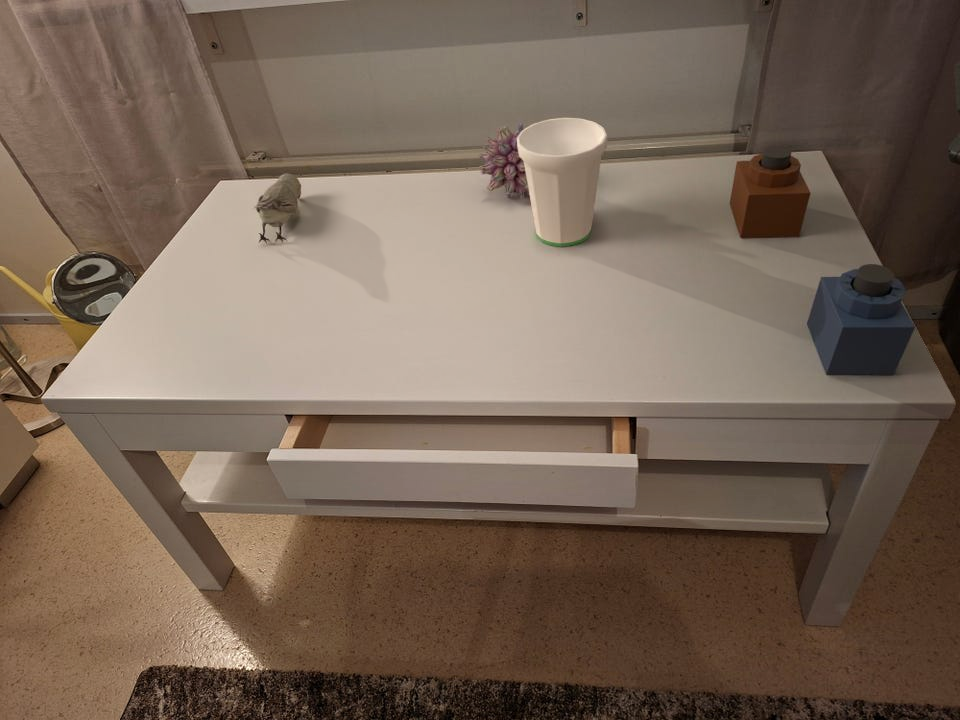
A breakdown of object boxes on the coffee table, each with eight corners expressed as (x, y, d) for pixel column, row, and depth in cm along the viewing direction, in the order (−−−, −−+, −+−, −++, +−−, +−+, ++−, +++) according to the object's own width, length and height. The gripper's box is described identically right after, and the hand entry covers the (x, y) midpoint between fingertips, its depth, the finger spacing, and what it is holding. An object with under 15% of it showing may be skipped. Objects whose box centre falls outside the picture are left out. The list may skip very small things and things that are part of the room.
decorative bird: (313, 197, 117) (301, 158, 112) (288, 247, 106) (274, 206, 101) (284, 199, 118) (271, 160, 113) (256, 248, 106) (240, 208, 101)
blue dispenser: (806, 323, 80) (825, 262, 74) (868, 323, 79) (892, 261, 73) (825, 374, 73) (848, 312, 67) (893, 375, 72) (922, 311, 66)
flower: (537, 181, 116) (565, 197, 106) (473, 195, 114) (496, 213, 104) (531, 113, 110) (560, 123, 100) (464, 127, 108) (487, 139, 98)
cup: (546, 204, 107) (543, 112, 97) (617, 220, 101) (622, 124, 91) (507, 243, 100) (499, 148, 89) (582, 262, 94) (582, 163, 84)
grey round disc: (790, 171, 90) (794, 157, 89) (763, 172, 91) (766, 158, 89) (785, 159, 93) (788, 145, 91) (758, 160, 93) (761, 146, 92)
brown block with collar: (799, 237, 93) (814, 179, 87) (740, 238, 94) (751, 181, 88) (784, 201, 100) (797, 145, 94) (729, 203, 102) (738, 148, 96)
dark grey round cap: (848, 279, 72) (853, 264, 70) (882, 279, 71) (888, 263, 70) (857, 298, 69) (863, 282, 68) (892, 298, 69) (899, 282, 67)
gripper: (1007, -30, 66) (889, 125, 70) (1166, -8, 57) (1020, 168, 62) (1015, 13, 71) (905, 156, 76) (1161, 40, 62) (1027, 199, 67)
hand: (956, 161), depth 69 cm, fingers closed
